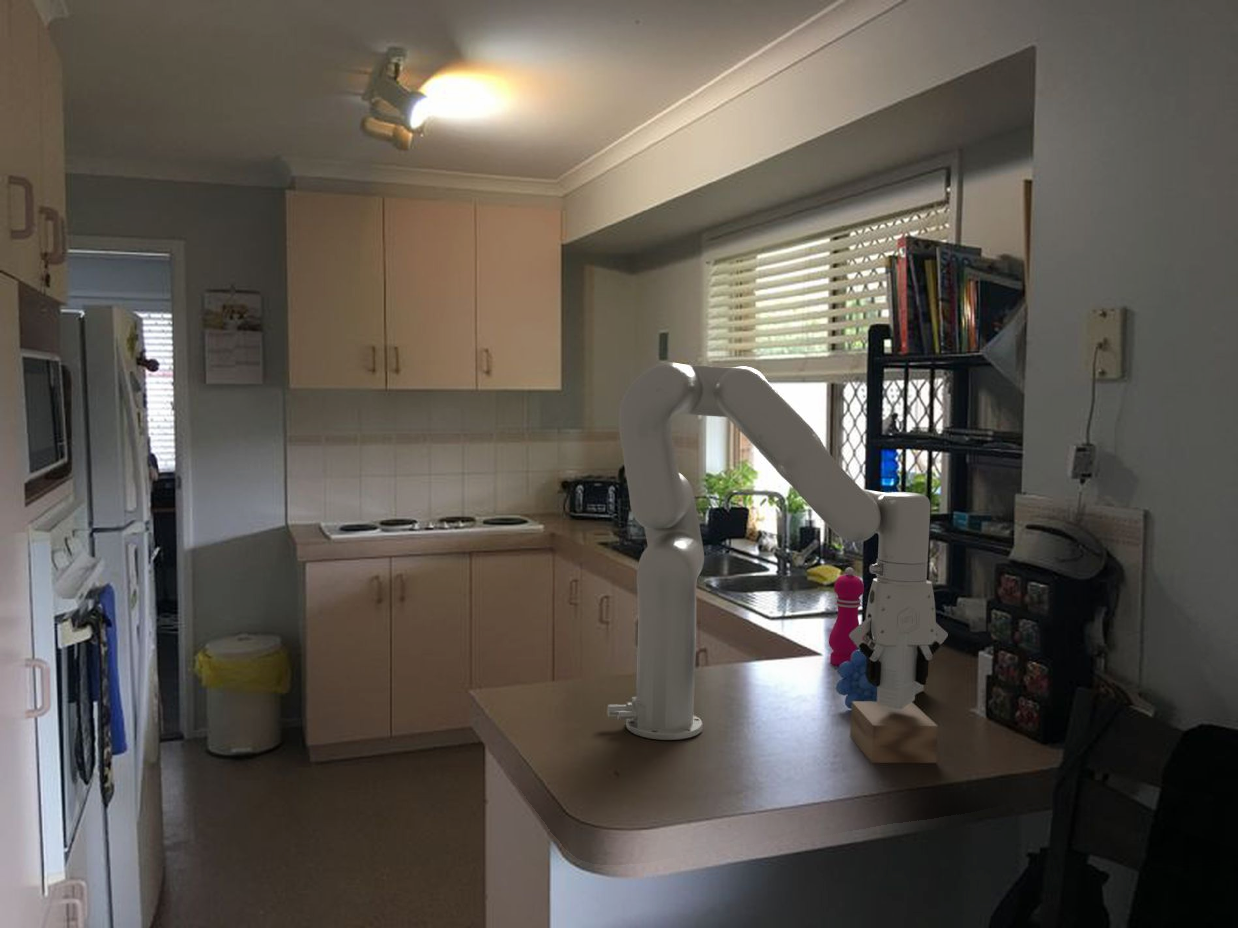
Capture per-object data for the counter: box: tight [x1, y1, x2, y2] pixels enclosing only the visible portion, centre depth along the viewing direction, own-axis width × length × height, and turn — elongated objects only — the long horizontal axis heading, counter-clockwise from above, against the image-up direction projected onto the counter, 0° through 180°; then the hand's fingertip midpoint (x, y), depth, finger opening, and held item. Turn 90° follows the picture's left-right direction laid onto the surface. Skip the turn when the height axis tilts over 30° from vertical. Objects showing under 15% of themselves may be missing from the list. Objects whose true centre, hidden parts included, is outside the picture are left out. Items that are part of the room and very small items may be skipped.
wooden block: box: [849, 701, 939, 764], centre depth 164 cm, size 10×12×6 cm
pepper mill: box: [828, 567, 865, 667], centre depth 214 cm, size 7×7×20 cm
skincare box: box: [877, 632, 917, 709], centre depth 163 cm, size 6×4×12 cm
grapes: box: [835, 649, 879, 710], centre depth 182 cm, size 12×7×12 cm, turn 59°
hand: (896, 682), depth 163 cm, fingers closed on skincare box, 7 cm apart
